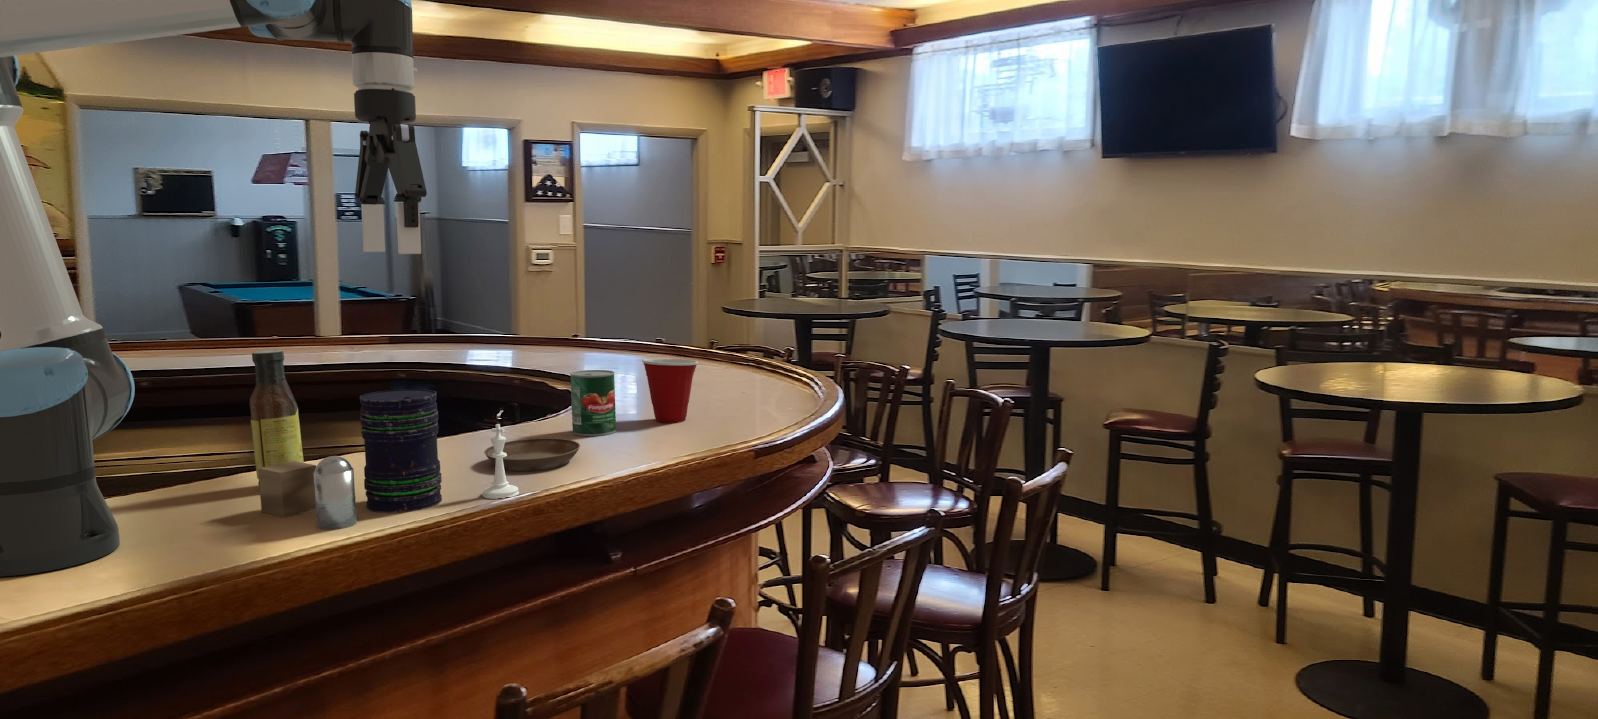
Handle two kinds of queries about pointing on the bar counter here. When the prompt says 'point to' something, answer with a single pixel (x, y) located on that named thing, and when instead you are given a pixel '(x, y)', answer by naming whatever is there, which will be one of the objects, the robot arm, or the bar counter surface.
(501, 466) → the chess piece
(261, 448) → the sauce bottle
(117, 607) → the bar counter surface
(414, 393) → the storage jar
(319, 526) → the metal shaker
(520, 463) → the saucer
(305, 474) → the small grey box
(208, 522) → the bar counter surface
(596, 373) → the canned tomato
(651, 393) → the plastic cup
